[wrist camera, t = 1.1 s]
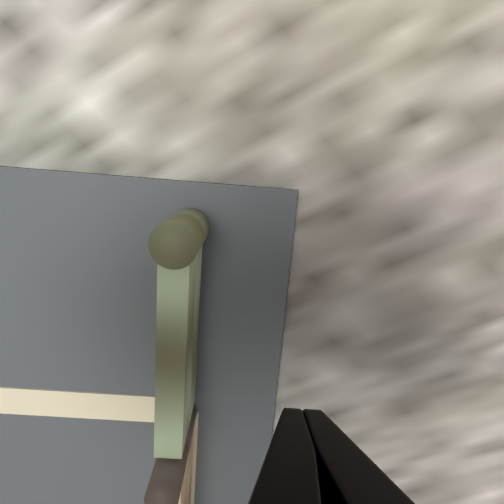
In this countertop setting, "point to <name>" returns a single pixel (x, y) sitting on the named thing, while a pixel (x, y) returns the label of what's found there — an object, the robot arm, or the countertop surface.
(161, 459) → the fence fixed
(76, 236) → the card
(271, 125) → the countertop surface
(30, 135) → the countertop surface
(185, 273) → the folding panel
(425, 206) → the countertop surface
